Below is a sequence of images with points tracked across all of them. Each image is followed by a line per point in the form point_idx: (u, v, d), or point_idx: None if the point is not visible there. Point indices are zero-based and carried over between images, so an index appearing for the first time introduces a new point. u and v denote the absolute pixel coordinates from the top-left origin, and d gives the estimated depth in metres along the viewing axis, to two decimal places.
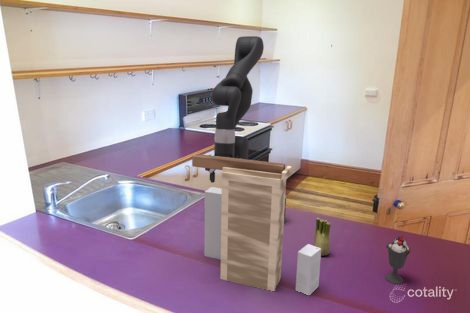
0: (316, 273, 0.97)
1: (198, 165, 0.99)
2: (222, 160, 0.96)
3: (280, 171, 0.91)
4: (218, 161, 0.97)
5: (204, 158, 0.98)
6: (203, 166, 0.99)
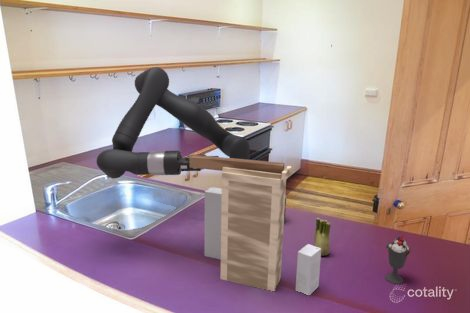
0: (316, 273, 0.97)
1: (196, 166, 0.98)
2: (221, 160, 0.96)
3: (280, 170, 0.91)
4: (217, 162, 0.96)
5: (202, 159, 0.97)
6: (201, 167, 0.98)
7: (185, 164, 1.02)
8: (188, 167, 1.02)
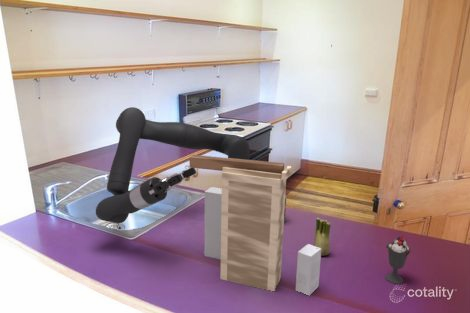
0: (316, 273, 0.97)
1: (196, 166, 0.98)
2: (221, 160, 0.96)
3: (280, 170, 0.91)
4: (216, 162, 0.96)
5: (202, 159, 0.97)
6: (201, 167, 0.98)
7: (151, 189, 1.00)
8: (154, 191, 1.00)
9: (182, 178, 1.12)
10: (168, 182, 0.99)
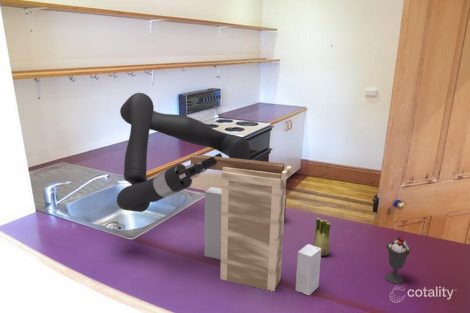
0: (316, 273, 0.97)
1: None
2: (221, 160, 0.96)
3: (280, 171, 0.91)
4: (217, 162, 0.96)
5: (203, 158, 0.98)
6: None
7: (183, 172, 0.96)
8: (187, 174, 0.96)
9: None
10: (202, 165, 0.96)
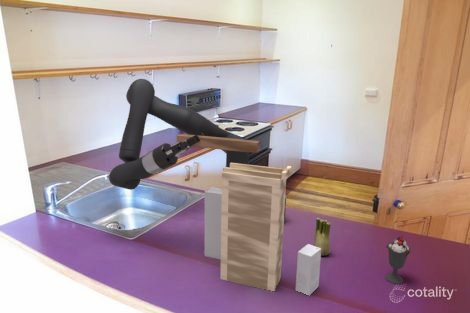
0: (316, 273, 0.97)
1: None
2: (203, 138, 1.06)
3: (255, 147, 1.01)
4: (200, 140, 1.07)
5: (187, 137, 1.08)
6: None
7: (169, 149, 1.06)
8: (173, 150, 1.06)
9: None
10: (187, 142, 1.07)
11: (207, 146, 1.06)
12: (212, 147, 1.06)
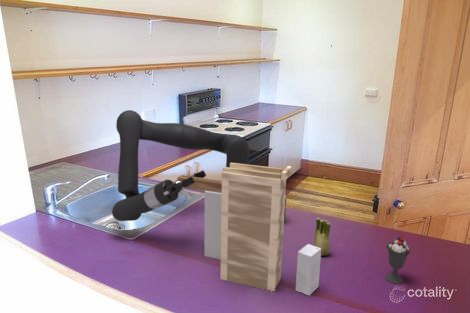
0: (316, 273, 0.97)
1: None
2: (203, 181, 1.10)
3: None
4: (199, 183, 1.11)
5: None
6: (187, 186, 1.13)
7: (166, 190, 1.10)
8: (169, 192, 1.09)
9: None
10: (182, 184, 1.09)
11: (206, 189, 1.10)
12: (211, 190, 1.10)
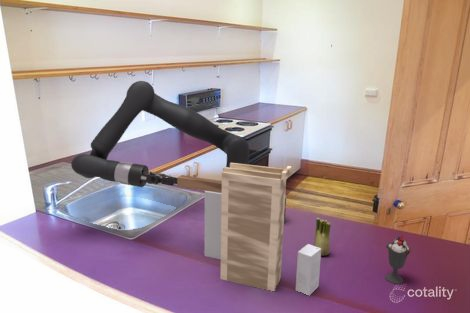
0: (316, 273, 0.97)
1: (182, 185, 1.13)
2: (203, 181, 1.10)
3: None
4: (199, 183, 1.11)
5: (187, 179, 1.12)
6: (187, 186, 1.13)
7: (145, 175, 1.12)
8: (147, 179, 1.12)
9: None
10: (162, 179, 1.13)
11: (206, 189, 1.10)
12: (211, 190, 1.10)
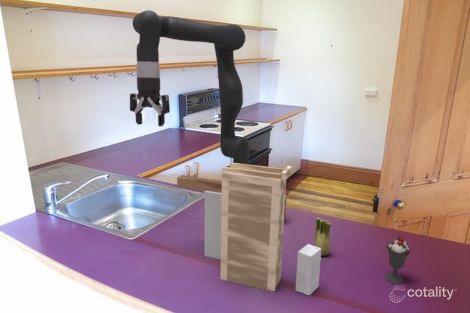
0: (316, 273, 0.97)
1: (182, 185, 1.13)
2: (203, 181, 1.10)
3: None
4: (199, 183, 1.11)
5: (187, 179, 1.12)
6: (187, 186, 1.13)
7: (168, 99, 1.16)
8: (166, 102, 1.16)
9: None
10: (163, 115, 1.18)
11: (206, 189, 1.10)
12: (211, 190, 1.10)
